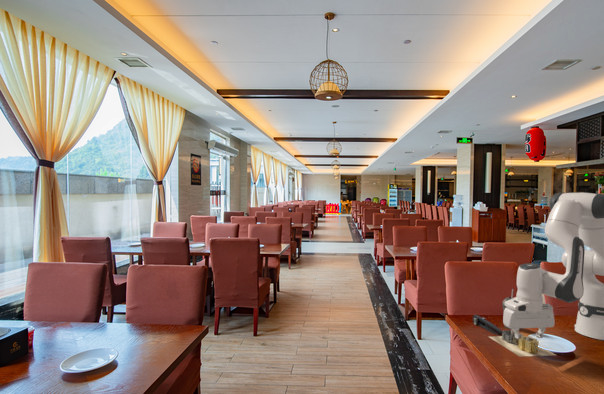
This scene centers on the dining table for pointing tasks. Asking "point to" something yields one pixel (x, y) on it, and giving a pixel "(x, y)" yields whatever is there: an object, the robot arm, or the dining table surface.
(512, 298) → the beverage cup
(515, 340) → the gear
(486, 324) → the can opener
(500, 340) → the gear board
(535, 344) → the gear
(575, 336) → the dining table surface
